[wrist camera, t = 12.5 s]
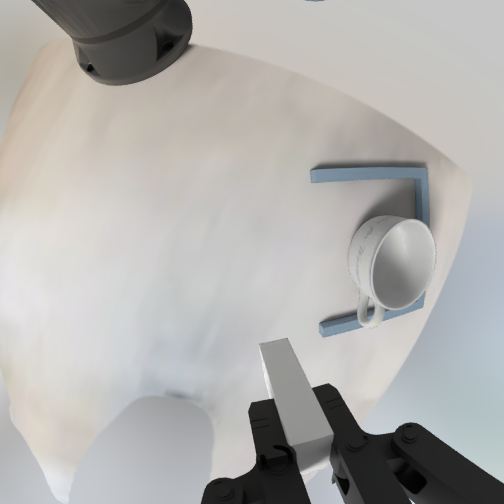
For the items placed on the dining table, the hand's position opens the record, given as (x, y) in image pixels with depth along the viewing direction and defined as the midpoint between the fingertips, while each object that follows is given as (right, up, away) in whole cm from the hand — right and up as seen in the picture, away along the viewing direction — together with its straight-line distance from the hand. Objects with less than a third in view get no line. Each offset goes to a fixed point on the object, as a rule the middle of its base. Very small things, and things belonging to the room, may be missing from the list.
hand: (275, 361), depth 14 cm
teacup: (+14, +5, +21) cm, 26 cm away
